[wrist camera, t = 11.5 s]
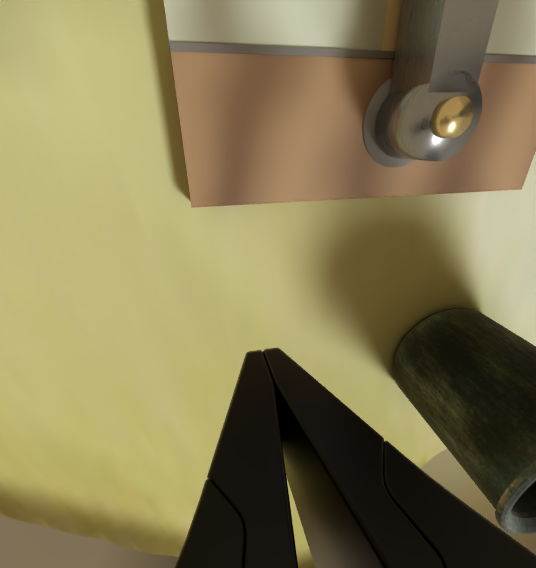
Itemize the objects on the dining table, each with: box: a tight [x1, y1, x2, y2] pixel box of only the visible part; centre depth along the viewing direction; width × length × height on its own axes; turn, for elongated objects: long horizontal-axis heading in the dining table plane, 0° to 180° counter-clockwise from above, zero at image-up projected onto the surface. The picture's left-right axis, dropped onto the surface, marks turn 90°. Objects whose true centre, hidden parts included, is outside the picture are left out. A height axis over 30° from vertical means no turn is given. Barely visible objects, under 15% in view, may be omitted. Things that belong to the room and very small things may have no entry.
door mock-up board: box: [164, 0, 536, 207], centre depth 13 cm, size 22×18×4 cm
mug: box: [393, 309, 536, 535], centre depth 22 cm, size 11×15×12 cm
